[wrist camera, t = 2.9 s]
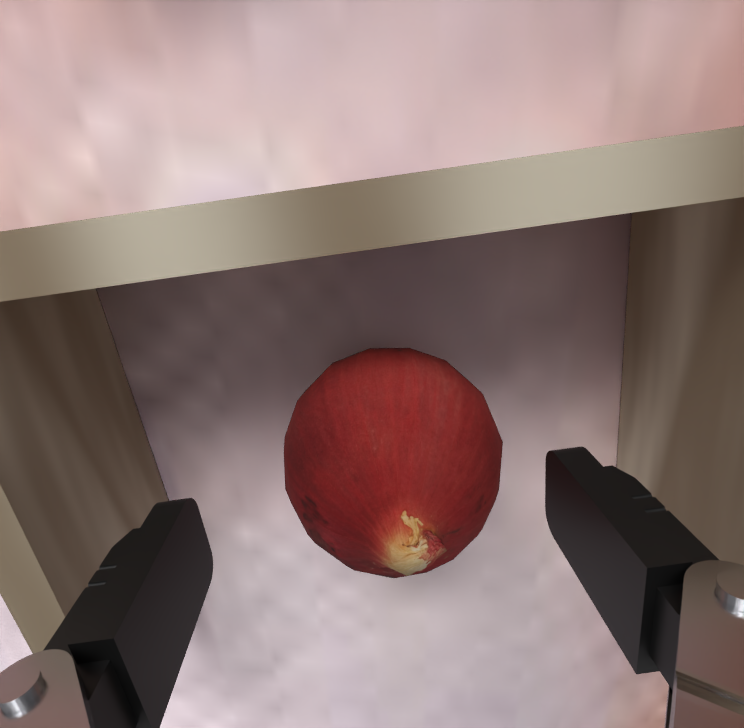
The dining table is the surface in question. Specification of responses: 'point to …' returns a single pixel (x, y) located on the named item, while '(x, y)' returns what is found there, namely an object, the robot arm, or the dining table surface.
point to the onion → (392, 461)
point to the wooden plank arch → (351, 234)
